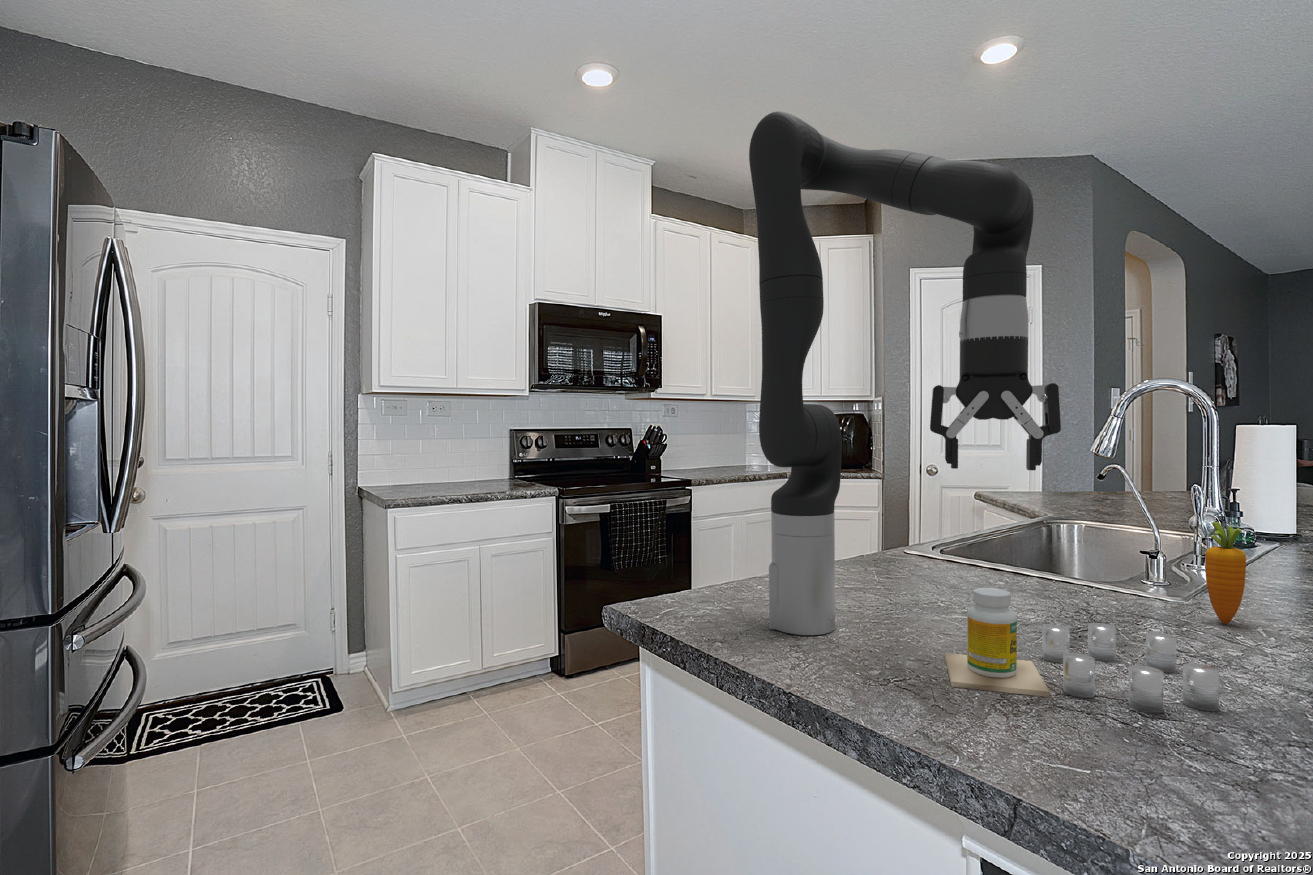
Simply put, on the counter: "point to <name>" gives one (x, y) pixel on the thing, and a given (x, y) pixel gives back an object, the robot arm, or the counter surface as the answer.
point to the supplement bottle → (992, 634)
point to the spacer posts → (1130, 668)
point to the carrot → (1225, 573)
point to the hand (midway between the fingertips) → (992, 469)
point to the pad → (1020, 683)
